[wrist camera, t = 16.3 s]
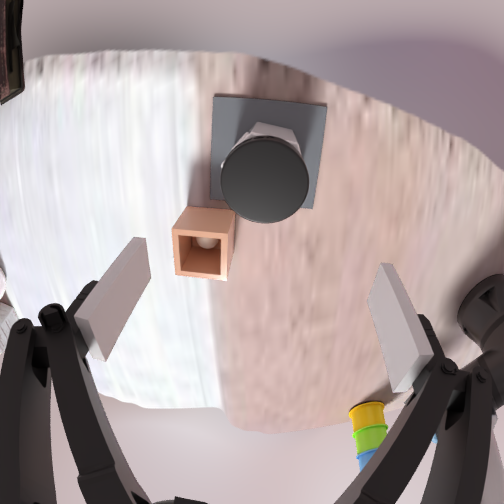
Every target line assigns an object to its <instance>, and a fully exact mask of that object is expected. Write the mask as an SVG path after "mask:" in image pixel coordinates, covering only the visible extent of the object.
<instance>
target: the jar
mask: <svg viewBox="0 0 504 504" xmlns="http://www.w3.org/2000/svg"><path fill="white" fill-rule="evenodd" d="M221 168H222V170H221V174H220V187H221V191H222V194H223V197H224V199H225V201H226V203H227V204H228V205H229V207H230V208H231V209H232V210H233V211H234V212H235V213H237V214H238V215H239V216H241V217H243V218H245V219H247V220H249V221H252V222H257V223H274V222H279V221H282V220H284V219H286V218H288V217H290V216H291V215H293V214H294V213H295V212H296V211H297V210H298V209H299V208H300V207H301V206H302V204H303V203H304V201H305V199H306V197H307V194H308V190H309V185H310V184H309V174H308V170H307V167H306V164H305V161H304V159H303V157H302V155H301V151H300V148H299V144H298V142H297V139H296V136H295V134H294V131H293V130H291V129H287V128H283V127H279V126H275V125H270V124H266V123H261V122H256V123H255V124H254V125H253V126H252V127H251V128H250V129H249V131H248V132H246V133H245V134H244V135H243V136H242V137H241V138H240V139H239V140H238V142H237V143H236V144H235V145H234V146H233V148H232V150H231V151H230V152H229V154H228V155H227V157H226V158H225V160H224V161H223V162H222V164H221Z"/></svg>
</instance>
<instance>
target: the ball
mask: <svg viewBox="0 0 504 504" xmlns="http://www.w3.org/2000/svg"><path fill="white" fill-rule="evenodd" d="M196 240H197V243H198V244H199V245H200V246H201V247H202V248H205V249H210V248H213V247H214V246H215V245H216V244H217V243H218V241H219V239H216V238H205V237H196Z"/></svg>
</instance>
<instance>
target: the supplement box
mask: <svg viewBox="0 0 504 504" xmlns="http://www.w3.org/2000/svg"><path fill="white" fill-rule="evenodd" d="M18 320H19V319H18V316H17V314H16V312H15V310H14V308H13V307H11V306H8V305H6V304H4V303H2V302H0V354H2V353H3V351H4V350H5V348H6V345H7V341H8V337H9V333H10V329H11V327H12V325H13V324H14V323H15V322H16V321H18Z"/></svg>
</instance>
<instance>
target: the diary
mask: <svg viewBox="0 0 504 504" xmlns="http://www.w3.org/2000/svg"><path fill="white" fill-rule="evenodd" d="M23 5H24V0H0V103H1V105H2V104H4V103H6V102H7V101H9V100H10V99H12V98H14V97H16V96H17V95H19V94H20V93H22V92H23V91H24V86H25V85H24V73H23V53H22V41H21V23H22V14H23Z"/></svg>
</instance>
